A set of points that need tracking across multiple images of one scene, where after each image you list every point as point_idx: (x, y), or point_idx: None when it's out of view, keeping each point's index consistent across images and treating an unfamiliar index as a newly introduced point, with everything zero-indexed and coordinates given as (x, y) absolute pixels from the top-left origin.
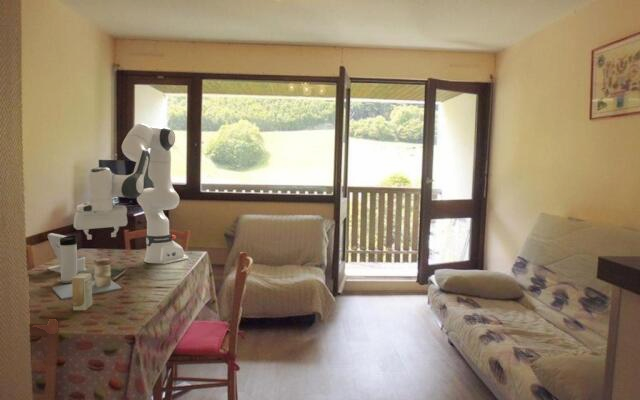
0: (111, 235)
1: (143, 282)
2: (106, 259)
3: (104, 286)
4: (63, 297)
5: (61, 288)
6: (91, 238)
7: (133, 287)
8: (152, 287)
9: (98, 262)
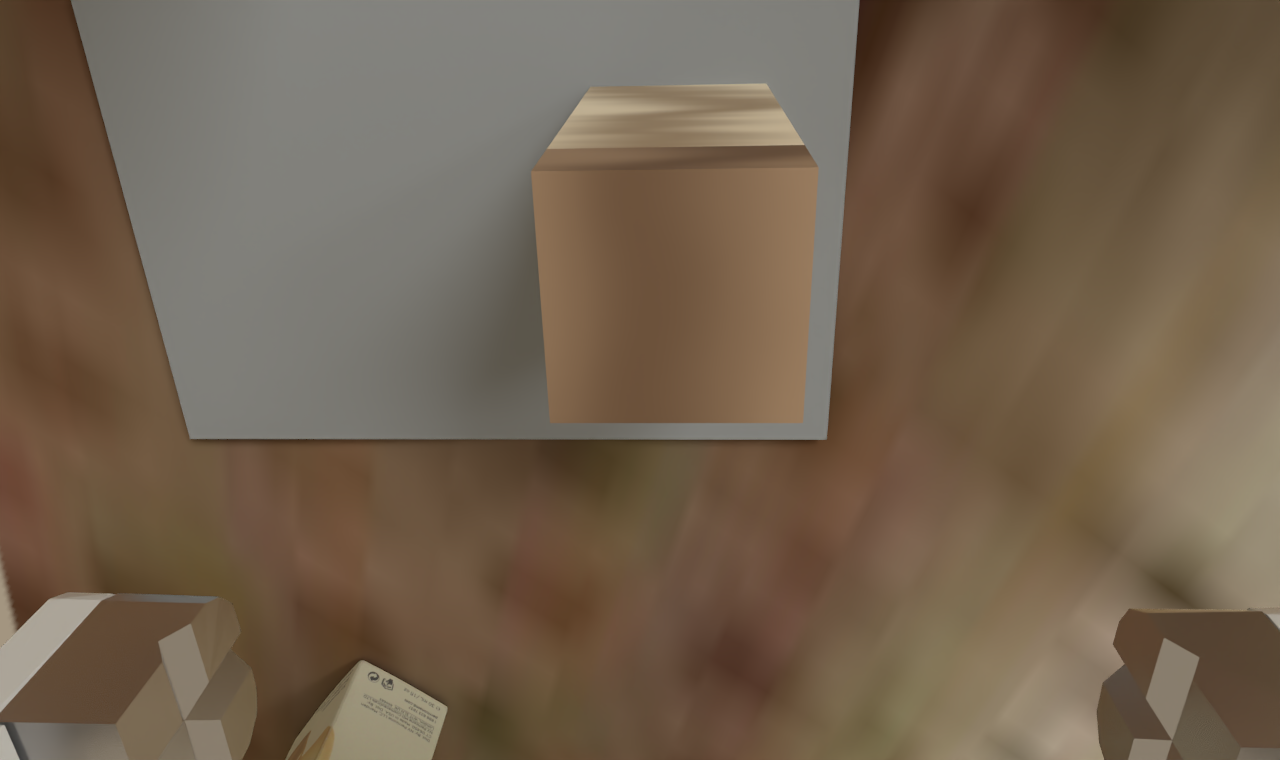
0: (1152, 677)
1: (1163, 317)
2: (750, 349)
3: None
4: (207, 422)
5: (166, 22)
6: (226, 757)
7: (956, 444)
8: (1115, 560)
9: (571, 411)
